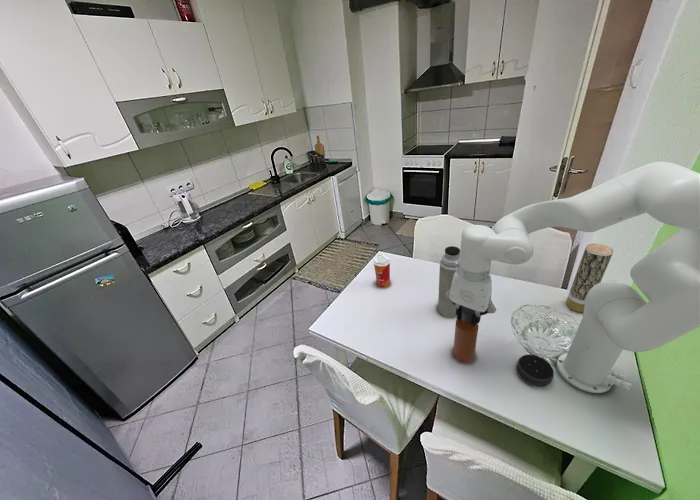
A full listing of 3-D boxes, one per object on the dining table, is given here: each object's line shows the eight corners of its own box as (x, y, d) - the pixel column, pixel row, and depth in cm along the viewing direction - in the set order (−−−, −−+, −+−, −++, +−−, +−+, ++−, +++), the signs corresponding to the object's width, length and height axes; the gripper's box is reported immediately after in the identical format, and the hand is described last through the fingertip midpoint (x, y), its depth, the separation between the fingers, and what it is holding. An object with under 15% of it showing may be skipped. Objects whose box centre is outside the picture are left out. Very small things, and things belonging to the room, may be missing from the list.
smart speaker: (548, 366, 84) (551, 357, 82) (553, 392, 77) (557, 384, 75) (515, 358, 87) (517, 350, 85) (517, 383, 80) (519, 374, 78)
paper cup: (372, 281, 130) (370, 256, 123) (387, 277, 132) (385, 252, 124) (379, 291, 123) (376, 265, 116) (394, 286, 125) (393, 260, 118)
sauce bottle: (476, 352, 91) (483, 308, 81) (470, 366, 87) (476, 322, 77) (457, 343, 95) (461, 300, 85) (450, 356, 91) (453, 313, 81)
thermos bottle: (458, 303, 111) (463, 243, 97) (460, 317, 104) (467, 255, 90) (437, 302, 113) (439, 243, 98) (438, 316, 106) (441, 255, 92)
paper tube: (570, 312, 100) (591, 254, 87) (562, 299, 105) (582, 243, 92) (592, 313, 98) (618, 254, 85) (583, 300, 103) (606, 243, 91)
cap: (458, 319, 82) (458, 310, 81) (463, 311, 85) (464, 302, 83) (472, 324, 80) (473, 316, 78) (477, 316, 82) (478, 307, 81)
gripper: (437, 268, 76) (435, 316, 85) (503, 288, 66) (493, 340, 75) (448, 255, 81) (445, 302, 90) (512, 272, 71) (501, 323, 80)
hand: (467, 319), depth 83 cm, fingers closed on cap, 3 cm apart
